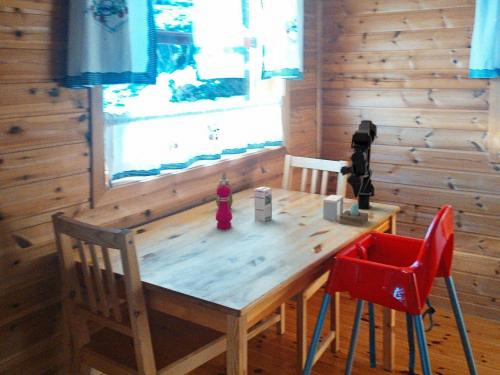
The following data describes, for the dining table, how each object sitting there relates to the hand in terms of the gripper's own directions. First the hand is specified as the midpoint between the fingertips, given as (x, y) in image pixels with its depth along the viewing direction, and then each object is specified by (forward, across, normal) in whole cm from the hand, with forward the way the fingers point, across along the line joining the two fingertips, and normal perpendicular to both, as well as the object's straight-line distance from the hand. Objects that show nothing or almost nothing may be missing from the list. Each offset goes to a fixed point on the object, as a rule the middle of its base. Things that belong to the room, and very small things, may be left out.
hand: (359, 194), depth 249 cm
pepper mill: (+11, +38, -48) cm, 62 cm away
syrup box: (+11, +20, -38) cm, 45 cm away
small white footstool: (+12, +2, -11) cm, 16 cm away
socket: (+11, +6, 0) cm, 13 cm away
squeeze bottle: (+12, +13, -62) cm, 65 cm away
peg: (+11, +6, 0) cm, 13 cm away
